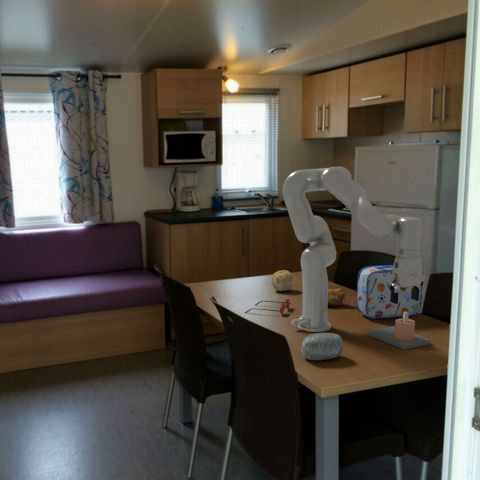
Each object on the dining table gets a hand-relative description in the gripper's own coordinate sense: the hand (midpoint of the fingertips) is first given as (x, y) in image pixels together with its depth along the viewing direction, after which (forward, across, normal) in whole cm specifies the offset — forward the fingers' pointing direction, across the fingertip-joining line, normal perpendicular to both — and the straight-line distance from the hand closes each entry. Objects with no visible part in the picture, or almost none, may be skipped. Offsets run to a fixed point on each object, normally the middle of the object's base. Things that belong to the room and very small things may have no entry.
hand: (404, 301), depth 200 cm
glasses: (+17, -21, +57) cm, 63 cm away
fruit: (+17, +3, +82) cm, 84 cm away
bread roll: (+16, +7, +51) cm, 54 cm away
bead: (+13, 0, -1) cm, 13 cm away
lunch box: (+15, +19, +26) cm, 35 cm away
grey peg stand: (+15, +1, +2) cm, 15 cm away
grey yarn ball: (+15, -34, 0) cm, 38 cm away
